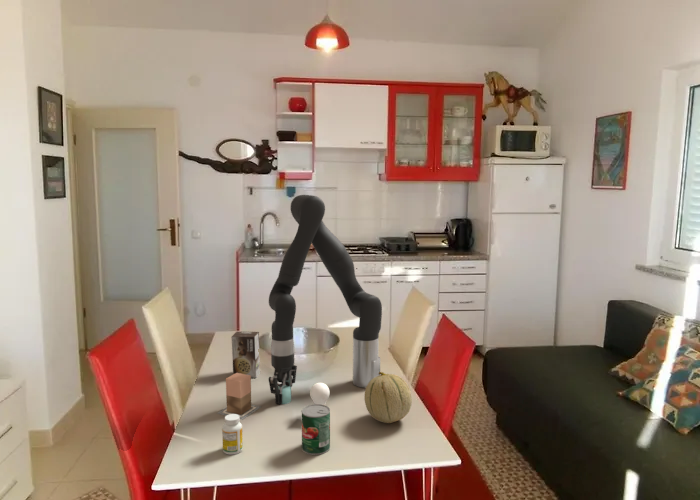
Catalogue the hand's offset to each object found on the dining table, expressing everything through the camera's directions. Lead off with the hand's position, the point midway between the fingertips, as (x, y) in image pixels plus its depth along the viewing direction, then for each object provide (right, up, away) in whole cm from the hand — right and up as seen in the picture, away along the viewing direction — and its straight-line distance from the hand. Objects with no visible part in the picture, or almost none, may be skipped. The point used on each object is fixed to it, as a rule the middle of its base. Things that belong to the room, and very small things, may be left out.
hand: (283, 400), depth 174 cm
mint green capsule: (0, -1, 0) cm, 1 cm away
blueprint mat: (-13, -2, -7) cm, 15 cm away
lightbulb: (+13, -2, -10) cm, 17 cm away
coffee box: (-17, +2, +25) cm, 30 cm away
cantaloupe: (+34, -3, -12) cm, 36 cm away
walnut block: (-13, -1, -7) cm, 15 cm away
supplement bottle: (-10, -5, -30) cm, 32 cm away
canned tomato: (+13, -5, -29) cm, 32 cm away
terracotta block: (-13, +4, -8) cm, 16 cm away
